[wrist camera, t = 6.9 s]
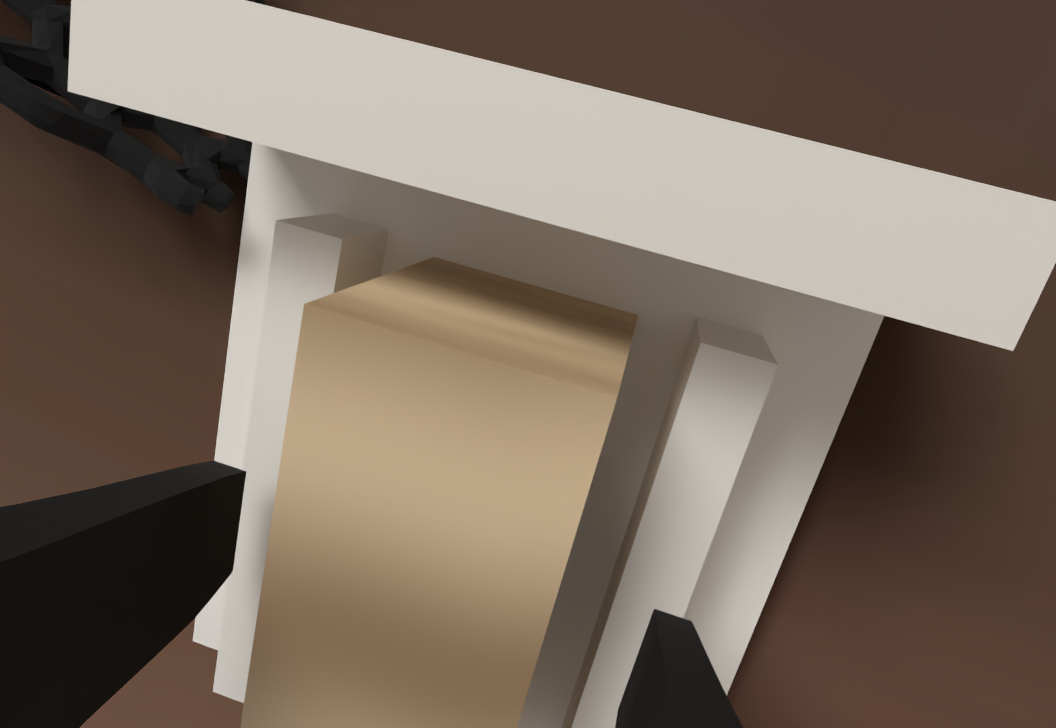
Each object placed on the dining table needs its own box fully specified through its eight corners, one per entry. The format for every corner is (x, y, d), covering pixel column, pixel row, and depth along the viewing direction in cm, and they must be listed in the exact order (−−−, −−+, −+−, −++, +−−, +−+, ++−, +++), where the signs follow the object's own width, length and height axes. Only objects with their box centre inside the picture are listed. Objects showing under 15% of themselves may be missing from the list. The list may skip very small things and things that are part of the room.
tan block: (512, 732, 16) (443, 967, 11) (348, 672, 16) (217, 874, 12) (638, 314, 13) (617, 398, 8) (433, 256, 13) (303, 304, 9)
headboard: (674, 790, 17) (674, 1053, 12) (213, 620, 18) (38, 791, 13) (918, 192, 12) (1081, 208, 7) (288, 33, 14) (73, -43, 9)
